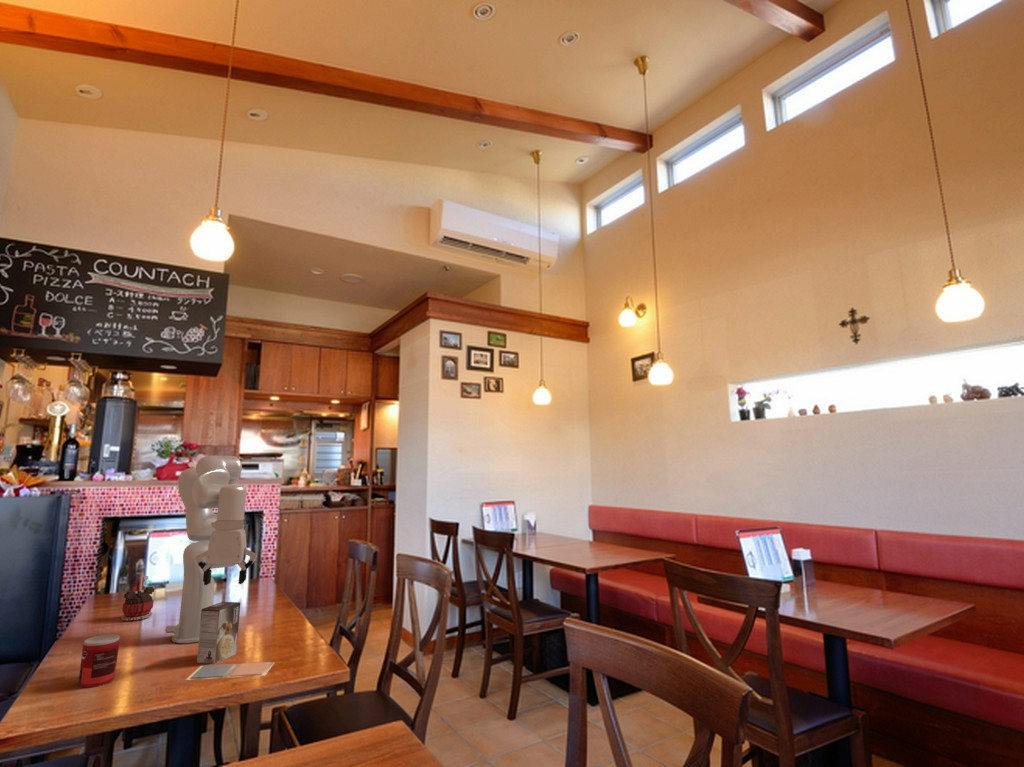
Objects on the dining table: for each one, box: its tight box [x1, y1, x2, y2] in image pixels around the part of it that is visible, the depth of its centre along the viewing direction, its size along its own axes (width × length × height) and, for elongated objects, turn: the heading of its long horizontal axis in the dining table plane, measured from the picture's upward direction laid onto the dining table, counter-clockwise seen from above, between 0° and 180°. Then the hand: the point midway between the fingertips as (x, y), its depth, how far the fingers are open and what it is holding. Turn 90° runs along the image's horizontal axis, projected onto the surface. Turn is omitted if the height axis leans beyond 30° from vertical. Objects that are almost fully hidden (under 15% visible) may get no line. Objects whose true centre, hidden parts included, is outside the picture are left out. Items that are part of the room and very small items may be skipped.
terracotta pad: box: [230, 661, 271, 678], centre depth 146 cm, size 8×9×1 cm
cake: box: [120, 568, 155, 621], centre depth 200 cm, size 11×9×18 cm
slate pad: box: [190, 663, 235, 680], centre depth 144 cm, size 8×9×1 cm
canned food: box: [78, 633, 120, 688], centre depth 140 cm, size 8×8×11 cm
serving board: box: [185, 661, 276, 681], centre depth 145 cm, size 20×10×1 cm, turn 100°
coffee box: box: [196, 601, 241, 665], centre depth 156 cm, size 9×6×16 cm
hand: (224, 583), depth 158 cm, fingers open, 9 cm apart
